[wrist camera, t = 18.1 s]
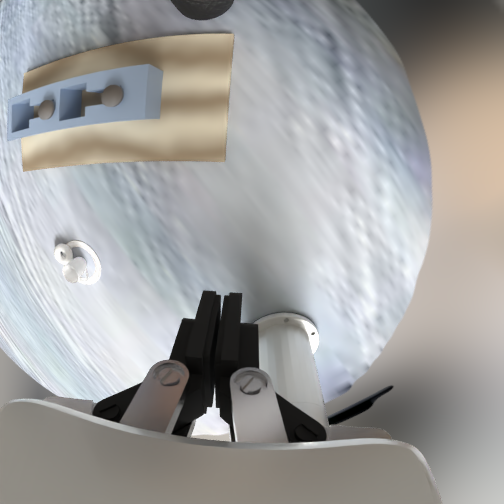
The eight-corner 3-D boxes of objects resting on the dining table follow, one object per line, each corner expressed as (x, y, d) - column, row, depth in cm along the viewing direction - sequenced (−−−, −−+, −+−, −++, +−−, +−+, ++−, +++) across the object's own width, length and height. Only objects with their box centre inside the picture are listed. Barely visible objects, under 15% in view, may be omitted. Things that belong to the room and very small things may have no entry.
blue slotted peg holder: (159, 118, 28) (144, 118, 24) (29, 136, 28) (7, 141, 23) (163, 71, 26) (148, 63, 21) (30, 98, 25) (8, 99, 20)
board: (225, 160, 32) (218, 170, 26) (27, 170, 31) (-3, 181, 24) (234, 36, 25) (230, 15, 19) (28, 73, 24) (-2, 72, 17)
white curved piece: (53, 247, 37) (40, 259, 34) (80, 226, 36) (66, 237, 32) (82, 289, 41) (71, 302, 37) (111, 272, 39) (100, 286, 36)
